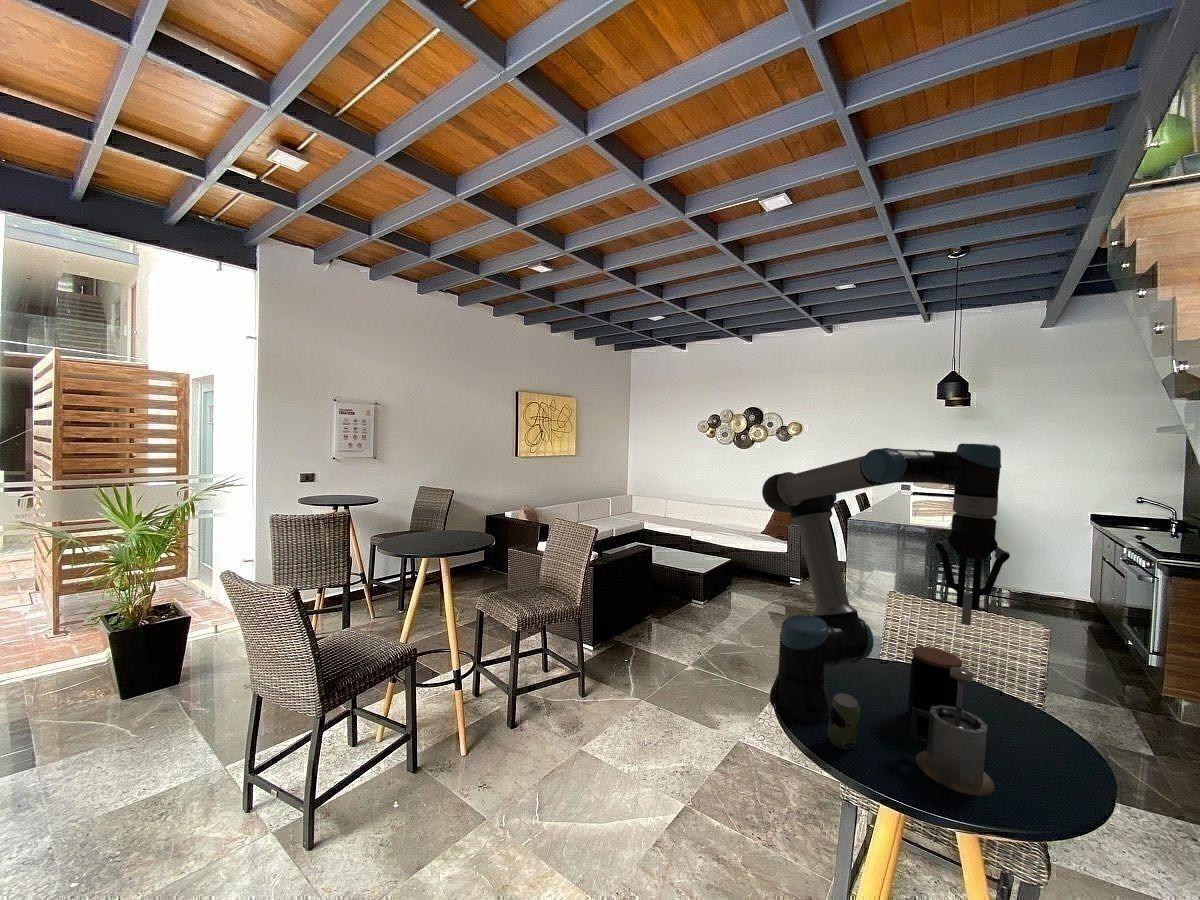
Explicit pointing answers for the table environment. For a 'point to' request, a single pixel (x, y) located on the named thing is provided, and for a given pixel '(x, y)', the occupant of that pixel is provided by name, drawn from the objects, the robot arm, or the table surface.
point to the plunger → (959, 697)
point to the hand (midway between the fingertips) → (966, 623)
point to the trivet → (981, 791)
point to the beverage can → (843, 721)
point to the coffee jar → (931, 681)
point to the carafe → (953, 746)
